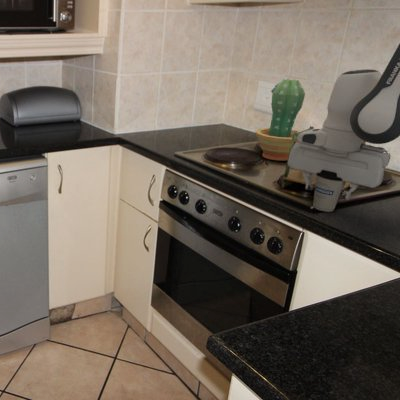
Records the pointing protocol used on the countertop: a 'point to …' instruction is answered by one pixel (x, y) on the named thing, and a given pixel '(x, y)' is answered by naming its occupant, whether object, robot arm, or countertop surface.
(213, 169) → the countertop surface
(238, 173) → the countertop surface
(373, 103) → the robot arm
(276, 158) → the potted cactus
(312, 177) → the shelf rack
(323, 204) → the coffee cup
